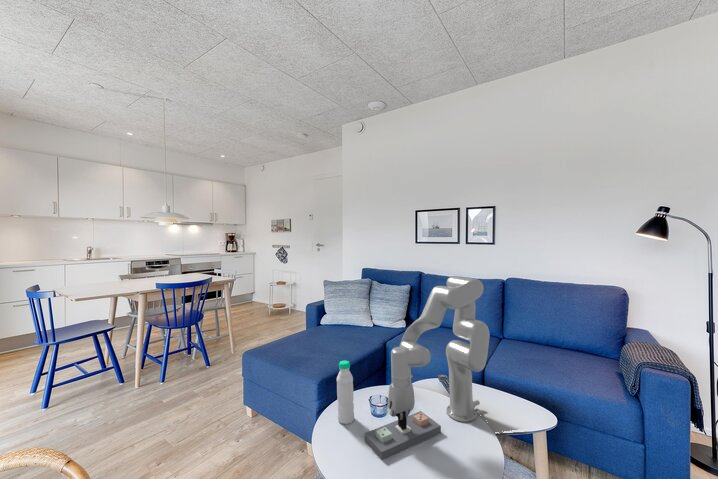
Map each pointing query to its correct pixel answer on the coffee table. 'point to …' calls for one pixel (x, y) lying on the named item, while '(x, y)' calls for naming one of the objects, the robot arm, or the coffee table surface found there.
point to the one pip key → (403, 430)
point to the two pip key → (383, 435)
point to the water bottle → (345, 394)
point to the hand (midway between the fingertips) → (402, 427)
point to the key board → (401, 437)
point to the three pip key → (420, 419)
